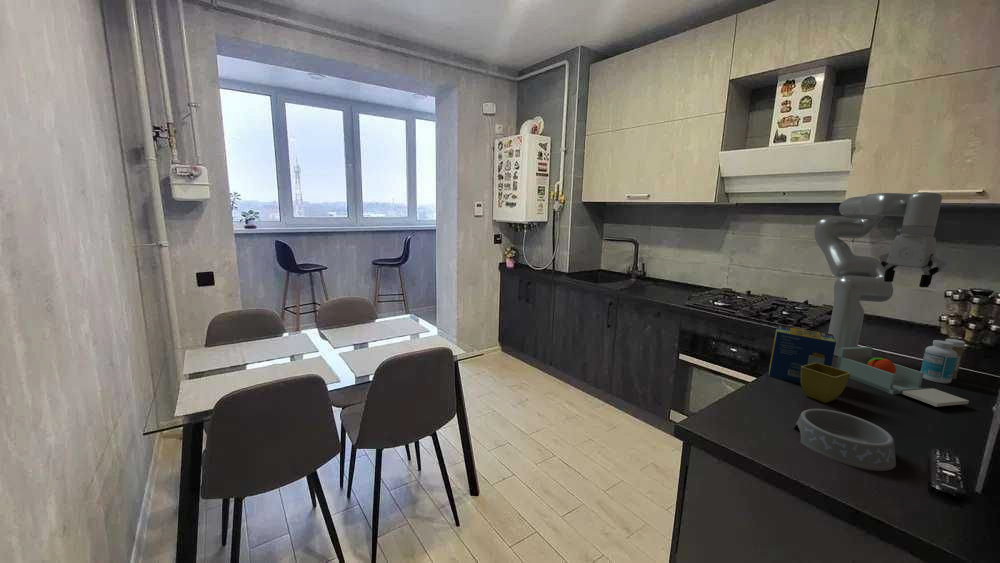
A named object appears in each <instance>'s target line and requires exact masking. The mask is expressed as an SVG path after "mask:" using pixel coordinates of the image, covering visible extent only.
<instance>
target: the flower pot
mask: <svg viewBox="0 0 1000 563" xmlns="http://www.w3.org/2000/svg"><path fill="white" fill-rule="evenodd" d="M849 376H850V373H849V372H846V371H843V370H840V369H836V367H833V366H831V367H830V366H827V365H823V364H820V363H812V364H808V365H804V366H801V383H800V386H801V388H802V391H803V393H804V394H805V396H806V397H808V398H812V399H814V400H816V401H819V402H822V403H825V404H826V403H827V404H828V403H829V402H832V401H834V400H836V399H837V398H838V397H840V395H841V394H842V393H843V392H844V390H845V389H846V386H847V383H848V381H849V379H850V378H849Z"/></svg>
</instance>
